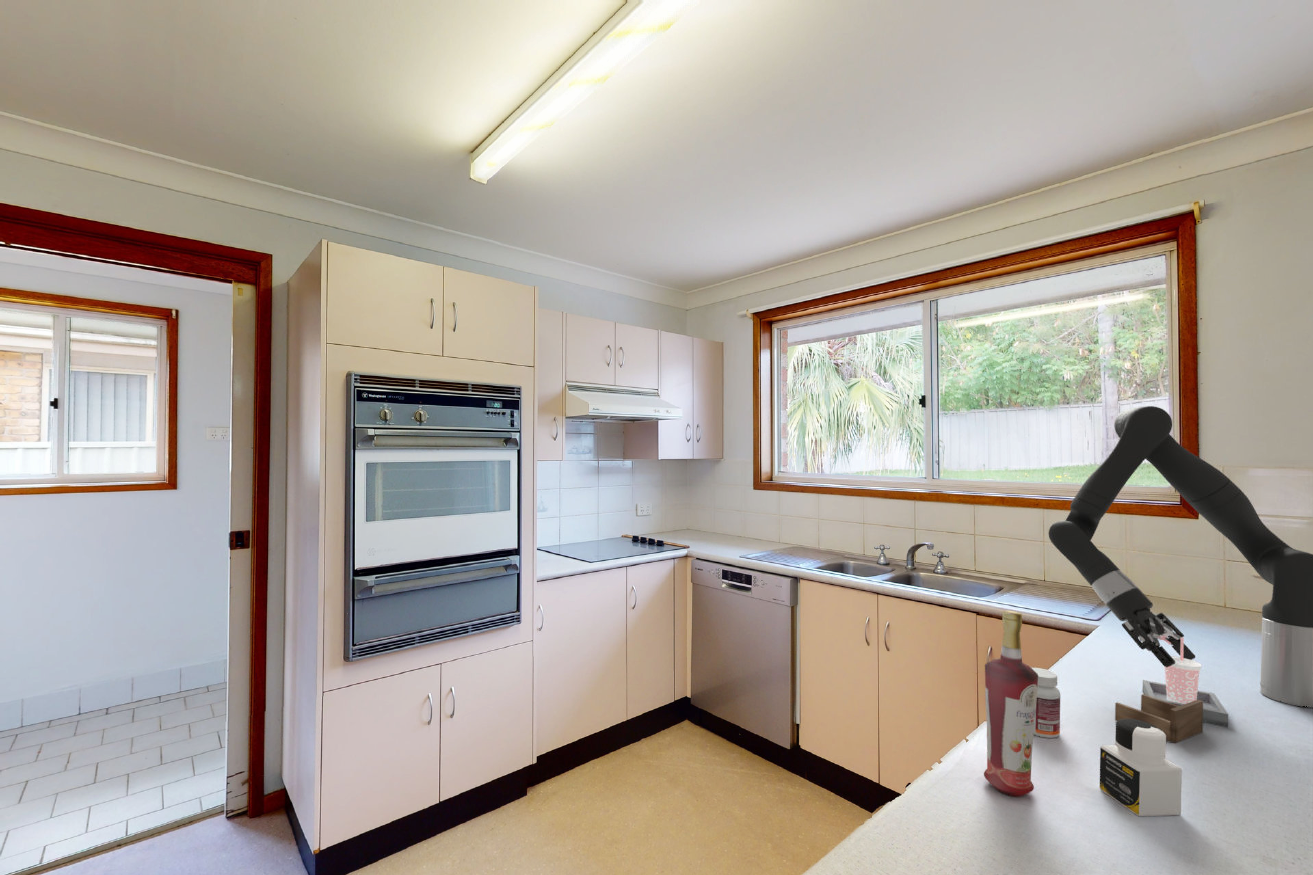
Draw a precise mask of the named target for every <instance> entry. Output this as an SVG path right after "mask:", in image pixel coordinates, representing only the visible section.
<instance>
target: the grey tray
mask: <svg viewBox="0 0 1313 875" xmlns="http://www.w3.org/2000/svg"><path fill="white" fill-rule="evenodd" d="M1141 690H1142V694H1145V695H1148V696H1151V697H1154V698H1157V699H1160V700H1163V701H1165V702H1168V703H1171V704H1174V705H1177V706H1181V705H1184V704H1183V703H1178V702H1173V701H1168V700H1167V692H1166V683H1160V682H1156V681H1150V680H1145V679H1142V689H1141ZM1197 700H1201V701H1203V723H1208V724H1212V725H1217V726H1222V727H1227V728H1228V727H1229V712H1227V710H1226V709H1225V707H1224V706H1223V704H1222V703H1221V701H1220V700H1219V698H1218V697H1217V695H1216V694H1215V693H1213V692H1207V691H1204V690H1199V689H1198V690H1197Z"/></svg>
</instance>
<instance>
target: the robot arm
mask: <svg viewBox="0 0 1313 875" xmlns="http://www.w3.org/2000/svg"><path fill="white" fill-rule="evenodd" d="M1113 426H1114V430H1115V434H1116V436H1117V437H1118V438H1119V439H1118V441H1117V443H1116V444H1115V447H1114V448H1113V450H1112V451H1111V452H1110V454H1109V455H1108V456H1107V457H1106V459H1105V460H1103V462H1102V463H1101V464H1100V465H1099V466H1098V467H1097V468H1096V469H1095V470H1094V471H1093V472H1092V473H1091V474H1090V475H1089V477H1088V478H1086V480H1085V481H1084V483H1083V484H1082V486H1081V487H1080V489H1079V490H1078V492H1077V493H1076V494H1075V496H1074V497H1073V499H1072V501H1071V502H1070V505H1069V506H1070V511H1069V514H1068V515H1067V517H1066V518H1065V519H1064V520H1058V521H1056V522H1054V523H1052V524H1051V525H1050V527H1049V529H1048V538H1049V541H1050V542H1051V544H1052V545H1054V547H1055V548H1056V549H1057V550H1058V551H1059V553H1061V555H1063V556H1064V557H1065V558H1066V559H1067V560H1068V561H1069V562H1070V563H1071V564H1073V566H1074V567H1075V568H1076V570H1077V571H1078V572H1079V574H1080V575H1081V576H1082V577H1083V578H1084V580H1086V581H1087V583H1088V584H1089V585H1090V586H1091V588H1092V589H1093V591H1094V592H1095V593H1096V594H1097V596H1098V597H1099V599H1100V600H1101V601H1102V602H1103V603H1104V604H1105V606H1107V608H1109V610H1110V611H1111V612H1112V613H1113V615H1114V616H1115V617H1116V618H1117V619H1118V620H1119V621H1120V622H1123V623H1121V626H1122V628H1123V629H1124V630H1125V631H1126V632H1127V634H1128V635H1129V637H1131V639H1132V640H1133V641H1134V643H1135V644H1136V645H1137V646H1138V647H1139V648H1140V650H1147V651H1148V652H1150V653H1152V654H1153V655H1154V656H1155V657H1156V659H1157V660H1158V661H1159V662H1160V663H1161V664H1162V666H1164V668H1165V667H1169V666H1171V665H1173V664H1175V660H1174V659H1173V658H1172V657H1171V656H1172V655H1171V654H1169V653H1168V651H1167V650H1166V649H1165V648H1164V647H1163V646H1162V645H1161V643H1160V641H1164V642H1166V643H1167V644H1168V645H1170V646H1171V648H1172V649H1173V650H1174V651H1175V652H1176V653H1177V654H1178V655H1179V656H1180V649H1181V637H1182V638H1184V637H1185V635H1184V633H1182V631H1181V630H1180V629H1179V628H1178V627H1177V626H1176V625H1175V624H1174V622H1172V621H1171V620H1170V619H1169V618H1168V617H1167V616H1166V615H1165V614H1164V613H1163V612H1159V613H1157V614H1154V613H1153V612H1152V611H1151V609H1152V608H1153V606H1154V604H1153V602H1152V601H1151V600H1150V599H1149V598H1148V597H1147V596H1146V594H1144V592H1143V591H1142V590H1141V589H1140V588H1139V587H1138V586H1137V585H1136V584H1135V583H1134V581H1133V580H1132V579H1130V577H1129V576H1127V575H1126V574H1125V573H1124V572H1123V571H1122V570H1121V569H1120V568H1119V567H1118V566H1117V565H1116V564H1115V563H1114V562H1113V561H1112V560H1111V559H1110V558H1109V557H1108V556H1107V555H1106V554H1105V553H1103V552H1102V551H1101V550H1100V549H1099V548H1097V546H1096V545H1095V544H1094V543H1093V542H1092V539H1093V537H1094V535H1095V533H1096V530H1097V529H1098V527H1099V525H1100V522H1101V520H1102V518H1103V517H1104V516H1105V514H1106V512H1107V511H1108V510H1109V509H1110V508H1111V506H1112V504H1113V503H1114V501H1115V499H1116V498H1117V497H1118V495H1119V494H1120V492H1121V490H1122V489H1123V488H1124V486H1125V484H1126V483H1127V482H1128V481H1129V479H1130V478H1131V477H1132V476H1133V474H1134V473H1135V471H1136V470H1138V468H1139V467H1140V466H1141V465H1142V463H1143V462H1144V461H1145V460H1146V461H1147V462H1149V464H1150V465H1152V466H1153V467H1154V468H1155V469H1156V471H1158V472H1159V474H1160V475H1161V476H1162V477H1163V478H1164V479H1165V480H1166V481H1167V482H1168V483H1169V485H1170V486H1172V488H1173V489H1175V490H1176V492H1177V493H1178V494H1179V495H1181V497H1182V498H1183V499H1184V500H1185V501H1186V502H1187V503H1188V504H1189V505H1190V506H1191V508H1193V509H1194V510H1195V511H1196V512H1197V513H1198V514H1199V515H1200V516H1202V518H1204V519H1205V520H1206V521H1207V522H1208V523H1210V525H1211V526H1212V527H1214V528H1215V530H1216V531H1218V532H1219V533H1221V534H1222V535H1223V536H1224V537H1225V538H1227V539H1228V540H1229V541H1230V543H1232V545H1234V547H1236V548H1237V550H1238V551H1239V552H1240V553H1241V554H1242V556H1243V557H1244V558H1245V560H1246V561H1247V562H1248V563H1249V564H1250V565H1251V567H1252V568H1253V570H1255V572H1256V573H1257V575H1259V576H1260V577H1261V578H1262V579H1263V580H1264V581H1266V582H1267V583H1269V584H1270V585H1272V595H1271V600H1270V601H1269V602H1267V603H1265V604H1263V605H1262V609H1261V647H1260V648H1261V649H1260V650H1261V652H1260V682H1259V684H1260V687H1259V688H1260V690H1259V691H1260V693H1261V694H1262V695H1263V696H1265V697H1266V698H1269V699H1272V700H1275V701H1278V702H1280V701H1281V703H1284V704H1289V705H1293V706H1297V707H1298V706H1299V707H1303V706H1305V707H1304V708H1313V553H1309V552H1307V551H1303V550H1300V549H1299V550H1298V549H1296V548H1294V547H1291V546H1290V545H1289V544H1287V543H1286V542H1285V541H1283V540H1282V539H1281V538H1280V537H1279V536H1277V535H1276V534H1275V533H1273V532H1272V531H1271V530H1270V529H1269V528H1268V527H1267V526H1266V524H1264V522H1263V521H1262V520H1261V519H1260V517H1259V514H1258V513H1257V511H1256V509H1255V507H1254V506H1253V503H1252V502H1251V500H1250V498H1249V497H1248V496H1247V495H1246V494H1245V493H1244V492H1243V491H1242V490H1241V489H1240V487H1239V486H1237V485H1236V484H1235V483H1234V482H1233V481H1232V480H1231V479H1230V478H1229V477H1228V476H1227V475H1226V474H1224V473H1223V472H1222V471H1221V470H1219V469H1218V468H1216V467H1215V466H1213V465H1212V464H1211V463H1208V462H1207V461H1205V459H1202V458H1201V457H1198V456H1197V455H1195V454H1194V453H1192V452H1190V451H1189V450H1188V449H1186V448H1185V447H1183V446H1182V445H1181V444H1180V443H1179V442H1178V441H1177V440H1175V438H1174V437H1173V436H1172V435H1171V431H1172V429H1173V419H1172V417H1171V415H1170V414H1169V413H1168V411H1166V410H1165V409H1164V408H1161V407H1158V406H1153V405H1145V406H1144V405H1143V406H1136V407H1131V408H1129V409H1125V410H1123V411H1121V412H1120V413H1119V414H1118V415H1117V416H1116V417H1115V420H1114V425H1113ZM1183 658H1186V659H1190V660H1194V659H1196V654H1194V653H1193V651H1192V650H1190V648H1189V647H1188V646H1187V645H1186V644H1185V643H1184V647H1183ZM1306 706H1307V707H1306Z"/></svg>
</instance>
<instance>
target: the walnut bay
mask: <svg viewBox="0 0 1313 875" xmlns="http://www.w3.org/2000/svg"><path fill="white" fill-rule="evenodd" d="M1140 702H1141V703H1140V709H1137V708H1135V707H1132V706H1129V705H1126V704H1124V703H1121V702H1118V701H1117V702H1115V703H1114V704H1115V708H1114V710H1115V712H1114V720H1115V722H1117V721H1118V720H1121V719H1136V720H1141V721H1144V722H1147V723H1150V724H1152V725H1154V726H1156V727H1158V728H1159V729H1161V730H1162V731H1163V732H1164V733H1165V735H1166V741H1168V742H1171V743H1173V744H1176V743H1180V742H1181V741H1184V740H1187V739H1189V738H1192V737H1194V736H1197V735H1198V734H1201V733H1203V725H1204V724H1203V723H1204V722H1203V701H1201V700H1195V701H1192V702H1190V703H1187V704H1184V705H1181V706H1177V705H1174V704H1171V703H1168V702H1165V701H1163V700H1160V699H1157V698H1154V697H1151V696H1148V695H1145V694H1143V693H1142V694H1141V695H1140Z"/></svg>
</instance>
